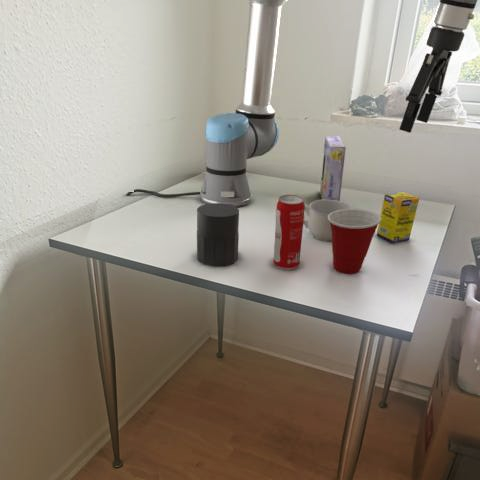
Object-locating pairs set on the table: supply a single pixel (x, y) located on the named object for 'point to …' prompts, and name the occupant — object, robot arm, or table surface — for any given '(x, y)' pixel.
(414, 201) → the supplement box
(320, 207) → the teacup
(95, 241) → the table surface
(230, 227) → the dark grey cup
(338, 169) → the cake pan box
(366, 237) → the plastic cup
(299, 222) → the beverage can
